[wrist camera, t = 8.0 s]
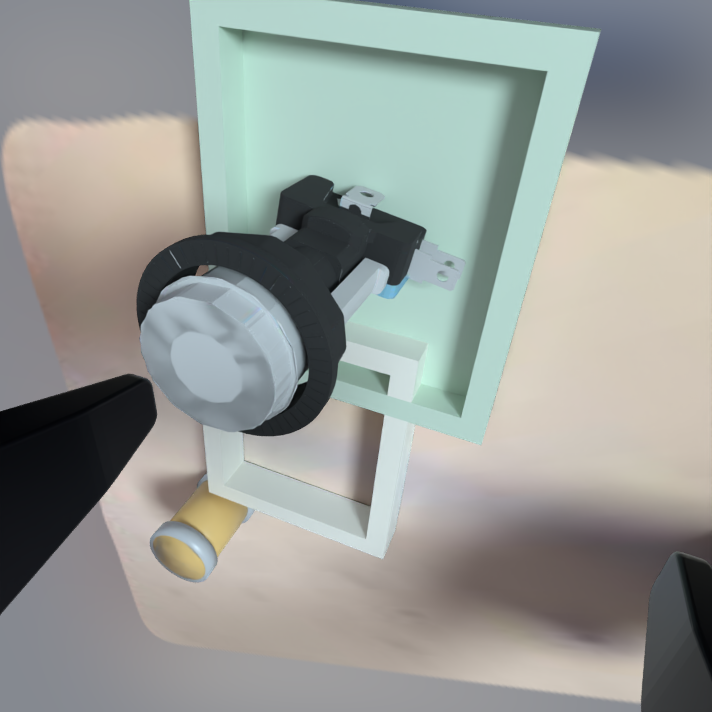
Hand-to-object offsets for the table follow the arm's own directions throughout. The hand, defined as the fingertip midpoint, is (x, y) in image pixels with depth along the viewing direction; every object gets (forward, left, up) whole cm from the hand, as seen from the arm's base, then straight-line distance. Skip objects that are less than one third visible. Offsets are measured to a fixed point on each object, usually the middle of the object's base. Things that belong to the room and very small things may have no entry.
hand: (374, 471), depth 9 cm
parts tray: (+5, +1, -13) cm, 13 cm away
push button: (+4, +1, -12) cm, 13 cm away
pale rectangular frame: (+7, +11, -13) cm, 18 cm away
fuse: (+12, +19, -13) cm, 26 cm away
